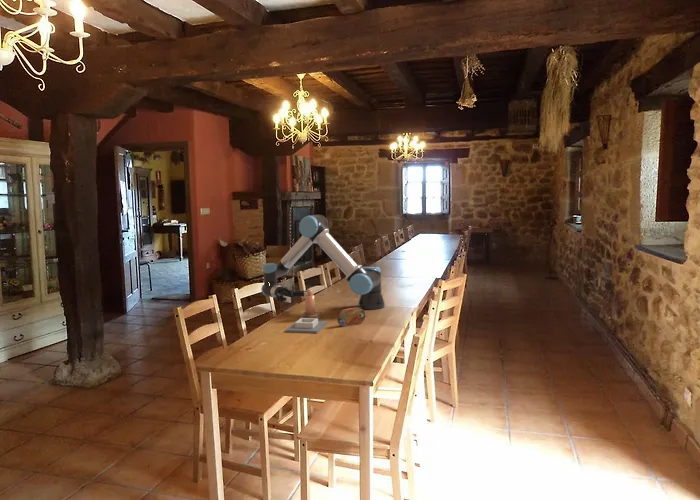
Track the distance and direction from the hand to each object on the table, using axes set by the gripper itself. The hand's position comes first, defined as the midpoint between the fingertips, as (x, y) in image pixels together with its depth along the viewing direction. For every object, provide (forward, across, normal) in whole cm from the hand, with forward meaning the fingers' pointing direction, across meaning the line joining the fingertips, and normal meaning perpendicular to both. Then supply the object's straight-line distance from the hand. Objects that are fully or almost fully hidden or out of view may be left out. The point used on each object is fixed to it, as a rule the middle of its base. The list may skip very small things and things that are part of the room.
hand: (300, 298), depth 272 cm
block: (+8, 0, -10) cm, 13 cm away
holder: (+21, +11, -10) cm, 26 cm away
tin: (+32, -8, -10) cm, 35 cm away
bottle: (+8, 0, -7) cm, 11 cm away
